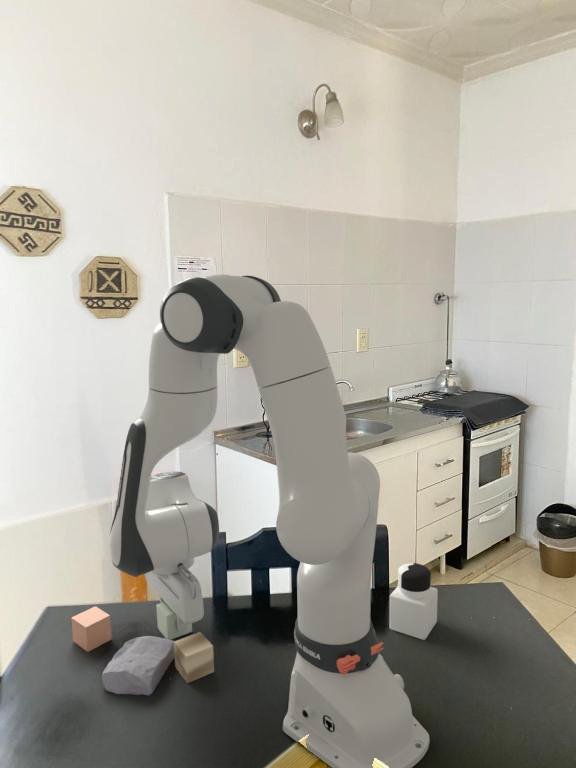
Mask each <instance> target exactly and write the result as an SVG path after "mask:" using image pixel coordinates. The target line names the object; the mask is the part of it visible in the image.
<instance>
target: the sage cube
mask: <svg viewBox="0 0 576 768" xmlns="http://www.w3.org/2000/svg"><path fill="white" fill-rule="evenodd" d="M155 607H156V622H157V629H158V630H159V632H160V633H161V635H163V636H164V637H163V638H165V639H170V640H175V639H177V638H179V637H181V636H184V635H187V634H189V633H193V623H191V624H187V630H186V631H184V632H181V633H179V632H178V631H177V629H176V628H175V626H176V625H175V621H177V618H178V617H177V616H176V613H175V612H174V611H173V610H172V609H171V608H170V607H169V606H168V605H167V603H166V602H162V603H161V602H159V603H157V604H156V605H155Z"/></svg>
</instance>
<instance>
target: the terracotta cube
mask: <svg viewBox="0 0 576 768" xmlns="http://www.w3.org/2000/svg"><path fill="white" fill-rule="evenodd" d="M70 619H71V629H72V641H73V643H75V645H77V646H79V647H80V648H81V649H83V650H84V651H85V652H87V653H88V652H89V653H90V651H92V650H94V649H96V648H98V647H100V646H102V645H103V644H105V643H108V642H109V641H111V640H112V639H113V637H112V623H111V615H110V614H108V613H107V612H105V611H104V610H102V609H101V608H99V607H98V606H93V607H91V608H89V609H87V610H85V611H82V612H80V613H78V614H76V615H74V616H72V617H71V618H70Z"/></svg>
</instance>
